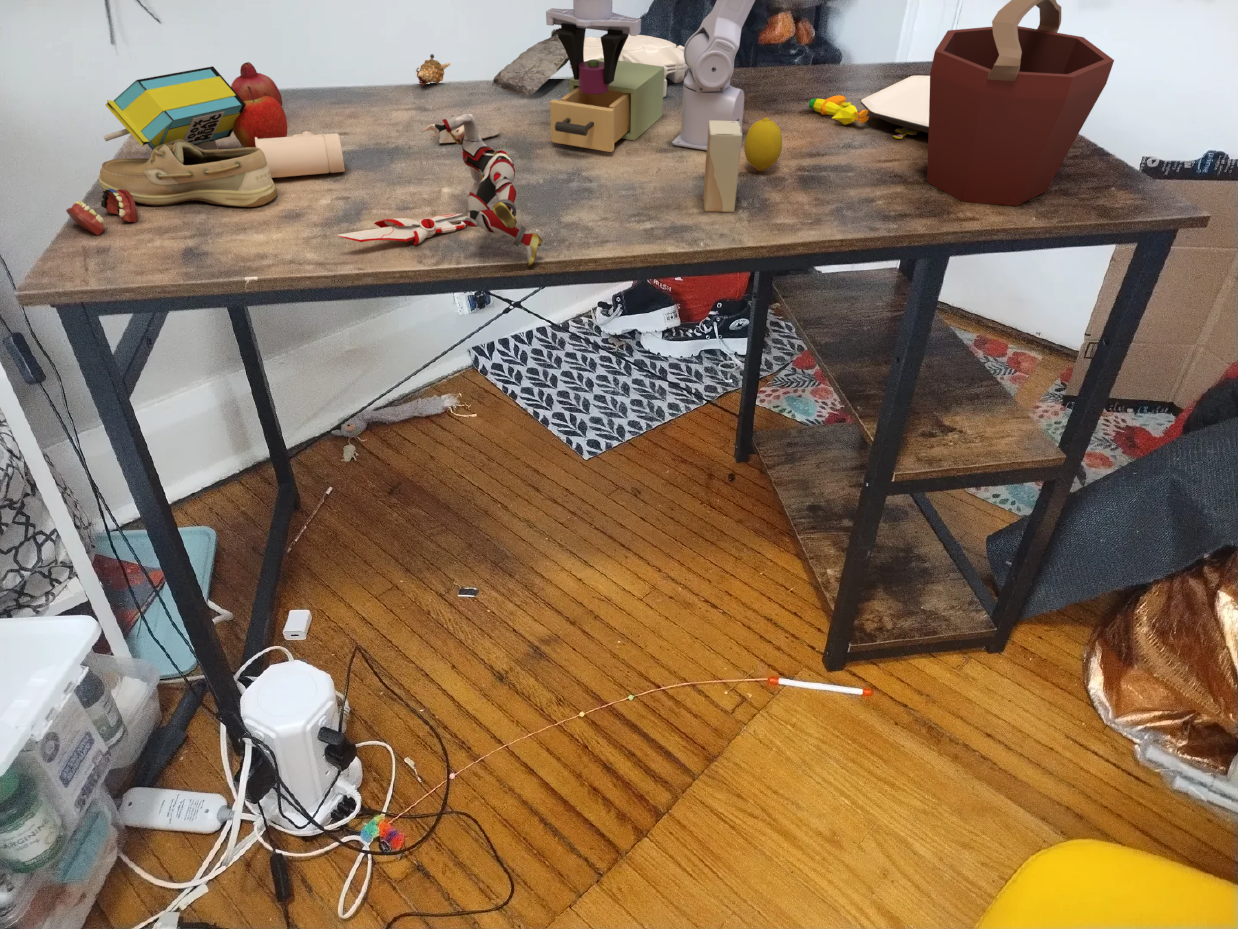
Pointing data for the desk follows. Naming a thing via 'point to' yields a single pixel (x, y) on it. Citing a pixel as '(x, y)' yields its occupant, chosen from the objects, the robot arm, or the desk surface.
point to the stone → (533, 66)
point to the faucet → (302, 154)
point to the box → (722, 165)
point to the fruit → (255, 85)
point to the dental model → (113, 203)
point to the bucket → (1009, 104)
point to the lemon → (763, 144)
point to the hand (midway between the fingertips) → (593, 79)
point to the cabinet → (637, 93)
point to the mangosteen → (592, 77)
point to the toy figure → (838, 109)
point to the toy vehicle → (645, 55)
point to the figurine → (431, 71)
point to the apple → (260, 121)
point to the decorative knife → (905, 132)
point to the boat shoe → (193, 176)
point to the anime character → (489, 180)
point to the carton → (177, 108)
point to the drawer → (590, 119)
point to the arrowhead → (483, 133)
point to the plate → (903, 103)
